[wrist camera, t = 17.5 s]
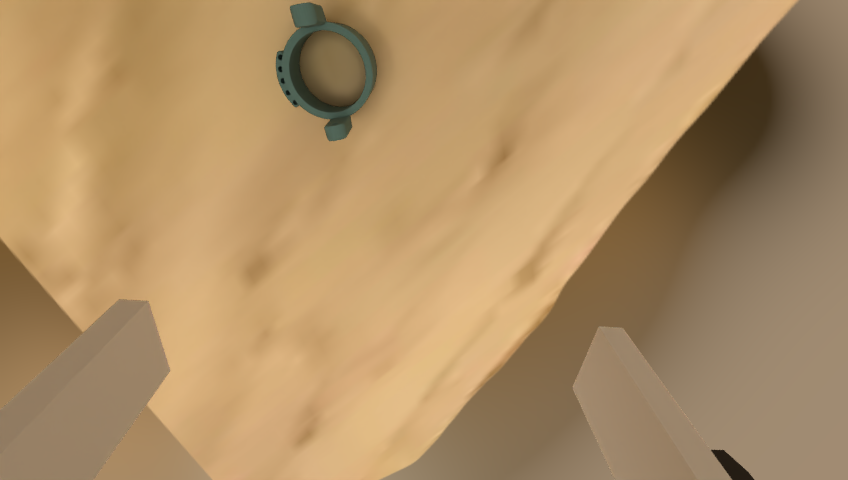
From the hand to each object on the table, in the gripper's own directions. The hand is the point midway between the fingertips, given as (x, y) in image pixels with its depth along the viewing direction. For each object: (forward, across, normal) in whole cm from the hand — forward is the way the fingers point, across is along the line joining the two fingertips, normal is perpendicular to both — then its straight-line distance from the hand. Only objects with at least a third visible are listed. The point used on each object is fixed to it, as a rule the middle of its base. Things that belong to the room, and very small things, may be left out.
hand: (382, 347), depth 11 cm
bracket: (+35, -8, +4) cm, 36 cm away
